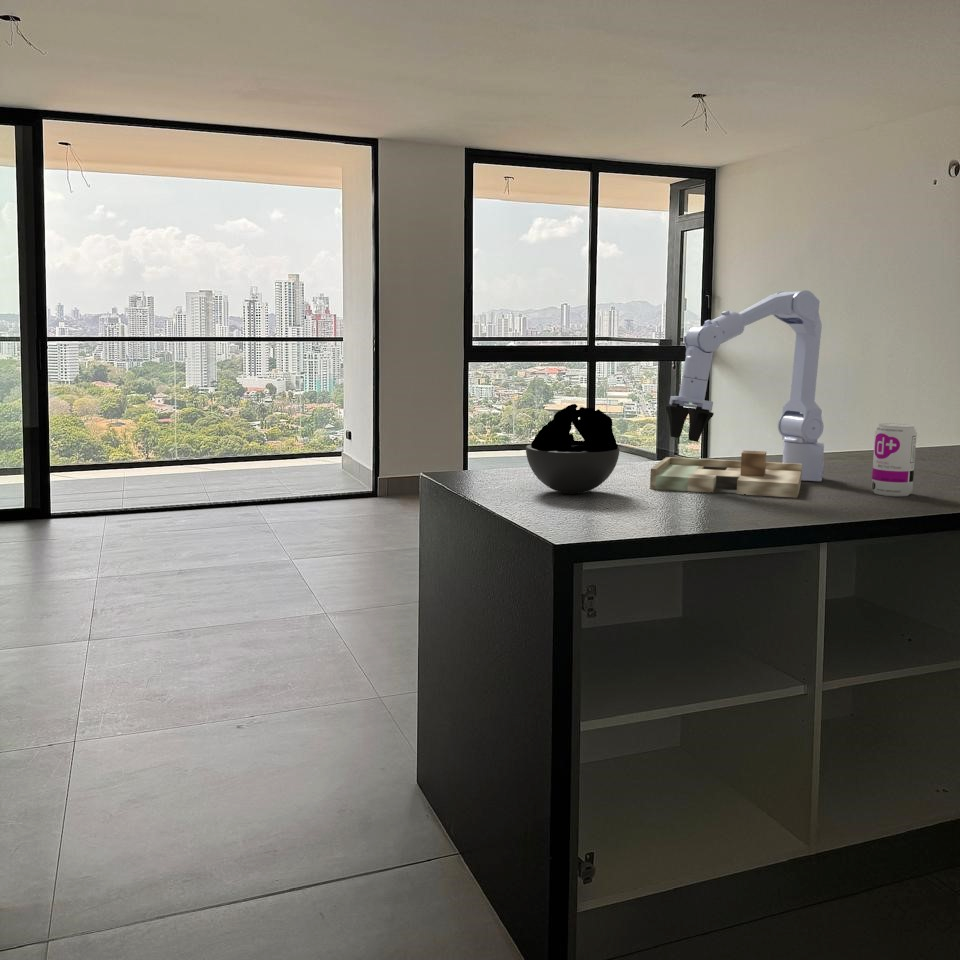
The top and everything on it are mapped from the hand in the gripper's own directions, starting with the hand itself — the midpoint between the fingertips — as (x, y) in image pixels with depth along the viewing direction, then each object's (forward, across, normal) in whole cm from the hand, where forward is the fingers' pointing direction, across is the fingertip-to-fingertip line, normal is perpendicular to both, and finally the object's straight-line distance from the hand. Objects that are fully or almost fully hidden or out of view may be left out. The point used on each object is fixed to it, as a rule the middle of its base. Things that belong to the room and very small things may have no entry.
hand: (683, 439), depth 221 cm
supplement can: (+4, +24, +39) cm, 46 cm away
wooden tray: (+9, +4, +11) cm, 15 cm away
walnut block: (+5, +8, +14) cm, 17 cm away
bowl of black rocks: (+15, +2, -26) cm, 31 cm away
